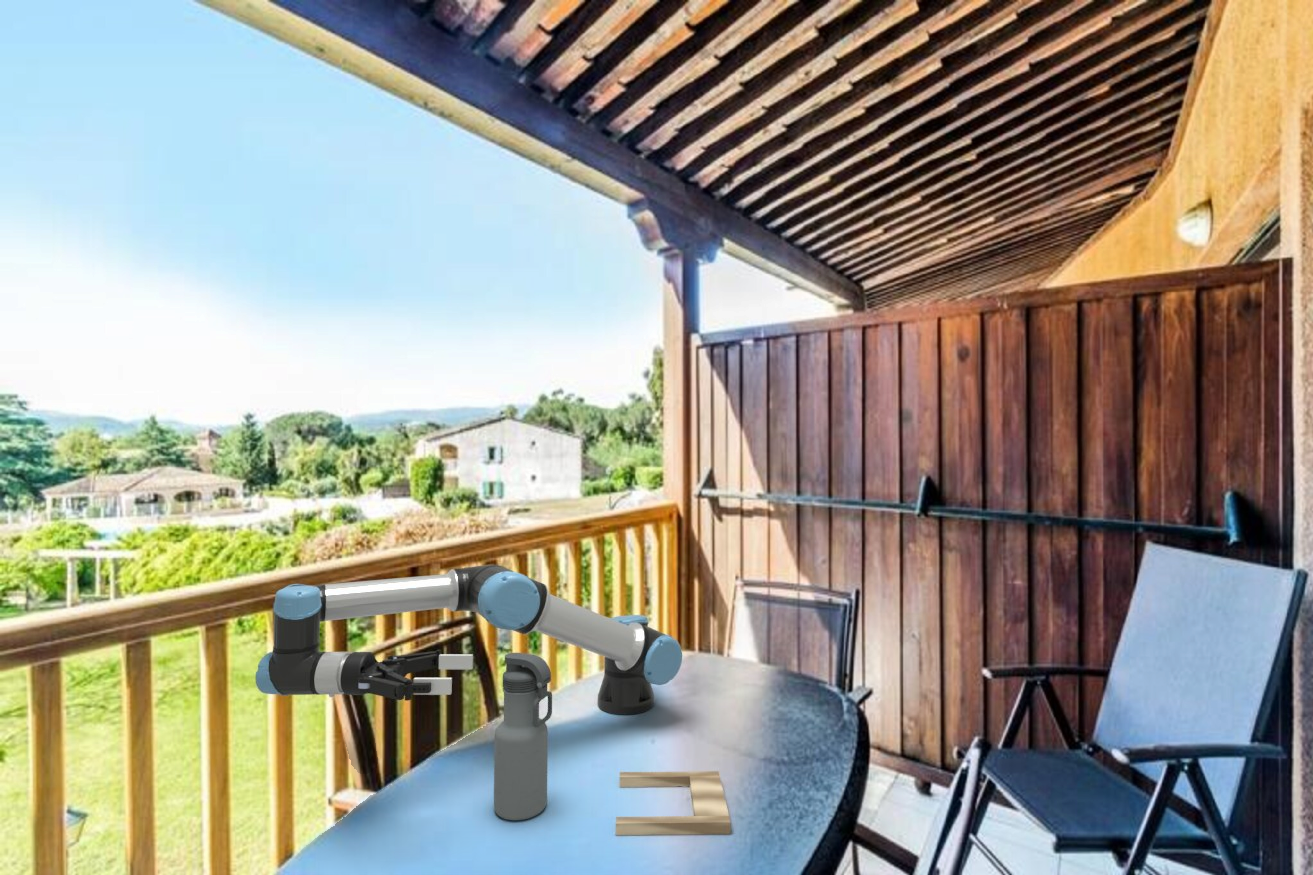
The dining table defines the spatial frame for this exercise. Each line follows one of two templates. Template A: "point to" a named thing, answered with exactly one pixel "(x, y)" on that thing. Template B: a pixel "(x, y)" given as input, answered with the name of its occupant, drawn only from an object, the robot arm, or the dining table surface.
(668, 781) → the oak cut-out board
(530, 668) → the water bottle
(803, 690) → the dining table surface
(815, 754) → the dining table surface
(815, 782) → the dining table surface
